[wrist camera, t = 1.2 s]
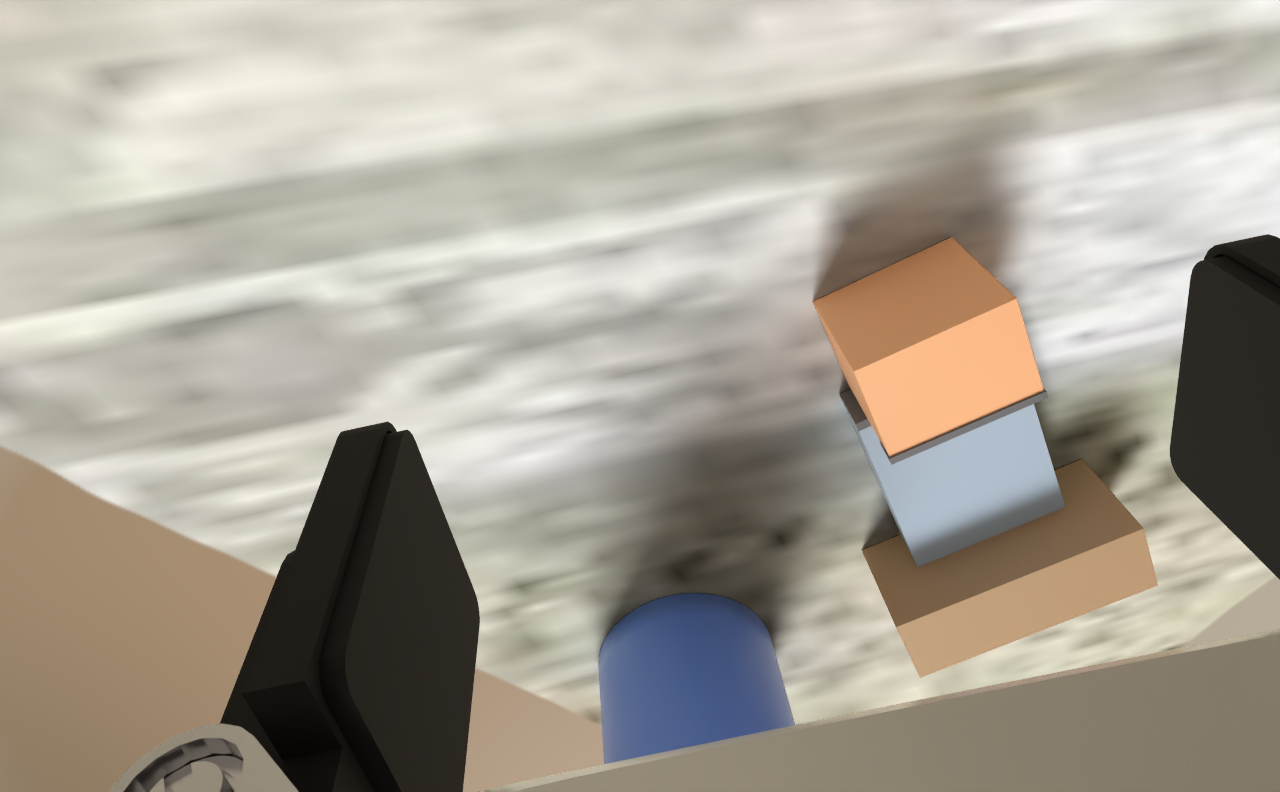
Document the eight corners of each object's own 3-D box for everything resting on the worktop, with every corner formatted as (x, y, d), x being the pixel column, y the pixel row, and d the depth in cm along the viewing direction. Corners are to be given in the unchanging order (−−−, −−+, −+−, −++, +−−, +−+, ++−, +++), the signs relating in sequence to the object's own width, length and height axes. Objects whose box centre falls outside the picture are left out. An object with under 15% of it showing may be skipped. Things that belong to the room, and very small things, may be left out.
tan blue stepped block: (1038, 305, 39) (1102, 363, 34) (1097, 512, 45) (1157, 585, 40) (797, 412, 40) (827, 481, 36) (884, 598, 46) (920, 677, 42)
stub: (953, 236, 37) (1019, 299, 32) (981, 325, 39) (1048, 397, 34) (811, 302, 38) (853, 373, 32) (847, 385, 40) (891, 464, 35)
